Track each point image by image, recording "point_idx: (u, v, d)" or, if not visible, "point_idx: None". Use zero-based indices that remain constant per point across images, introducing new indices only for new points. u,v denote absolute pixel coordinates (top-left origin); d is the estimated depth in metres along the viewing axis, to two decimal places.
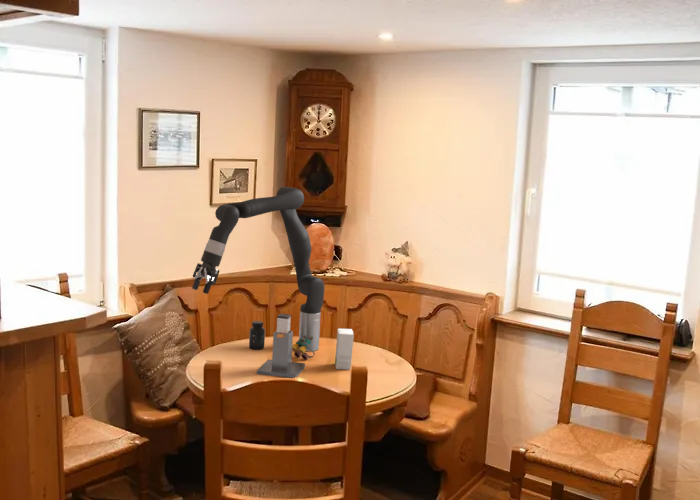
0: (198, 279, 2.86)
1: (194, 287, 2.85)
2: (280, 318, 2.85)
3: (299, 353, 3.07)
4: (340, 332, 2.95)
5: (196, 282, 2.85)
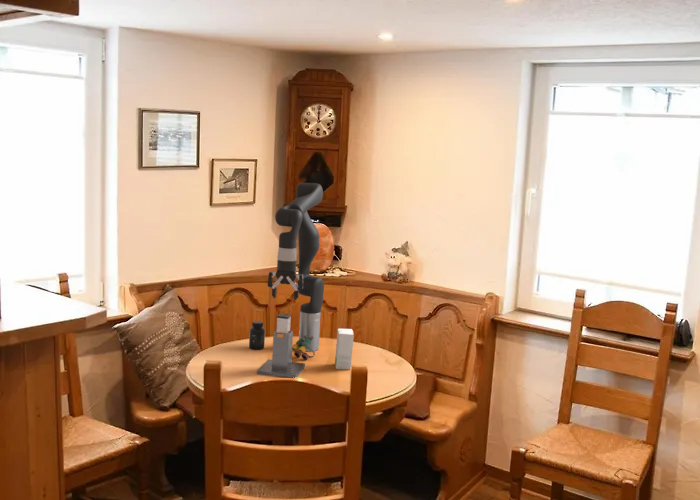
0: (275, 287, 2.86)
1: (275, 296, 2.86)
2: (280, 318, 2.85)
3: (299, 353, 3.07)
4: (340, 332, 2.95)
5: (275, 291, 2.86)
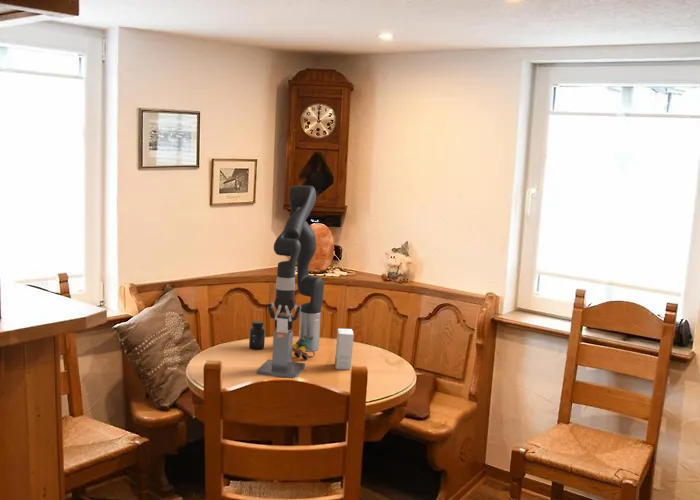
0: None
1: None
2: (280, 318, 2.85)
3: (299, 353, 3.07)
4: (340, 332, 2.95)
5: None
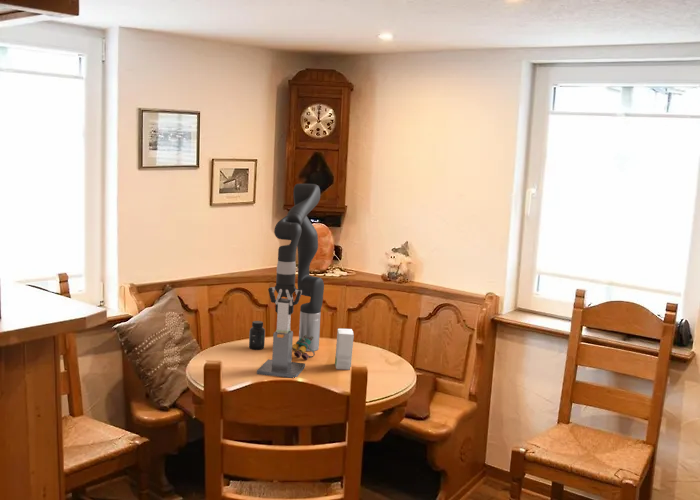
0: None
1: None
2: (280, 302, 2.84)
3: (299, 353, 3.07)
4: (340, 332, 2.95)
5: None
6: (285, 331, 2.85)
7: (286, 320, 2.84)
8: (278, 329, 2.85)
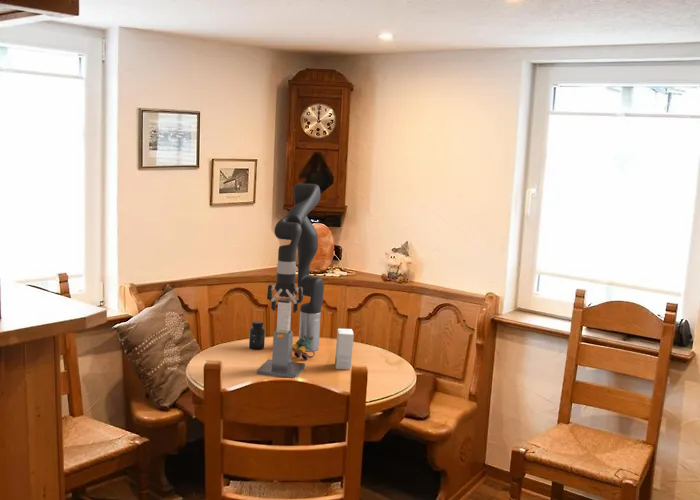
0: None
1: (274, 309, 2.86)
2: (280, 302, 2.84)
3: (299, 353, 3.07)
4: (340, 332, 2.95)
5: (274, 303, 2.86)
6: (285, 331, 2.85)
7: (286, 320, 2.84)
8: (278, 328, 2.85)
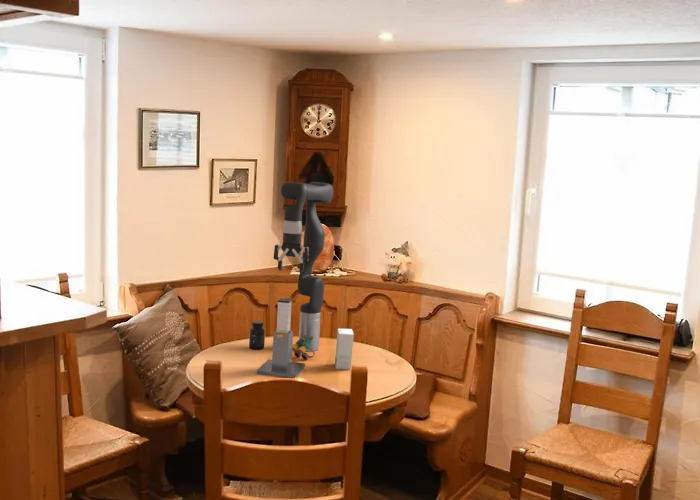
0: (281, 260, 2.91)
1: (281, 268, 2.91)
2: (280, 302, 2.84)
3: (299, 353, 3.07)
4: (340, 332, 2.95)
5: (281, 263, 2.91)
6: (285, 331, 2.85)
7: (286, 320, 2.84)
8: (278, 328, 2.85)
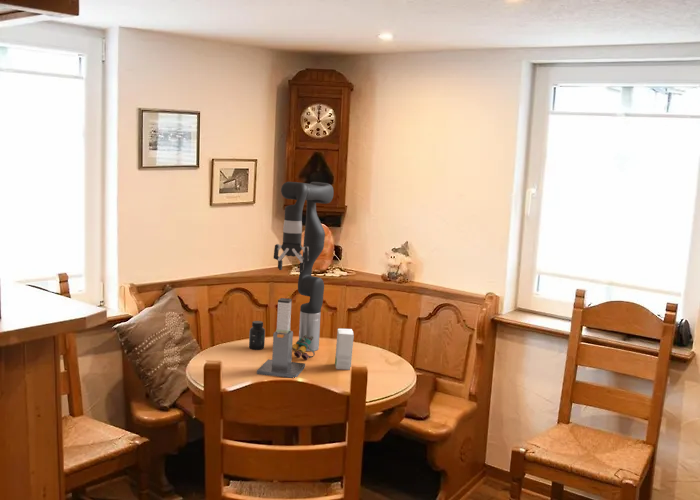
0: (281, 259, 2.91)
1: (281, 268, 2.91)
2: (280, 302, 2.84)
3: (299, 353, 3.07)
4: (340, 332, 2.95)
5: (281, 263, 2.91)
6: (285, 331, 2.85)
7: (286, 320, 2.84)
8: (278, 328, 2.85)
